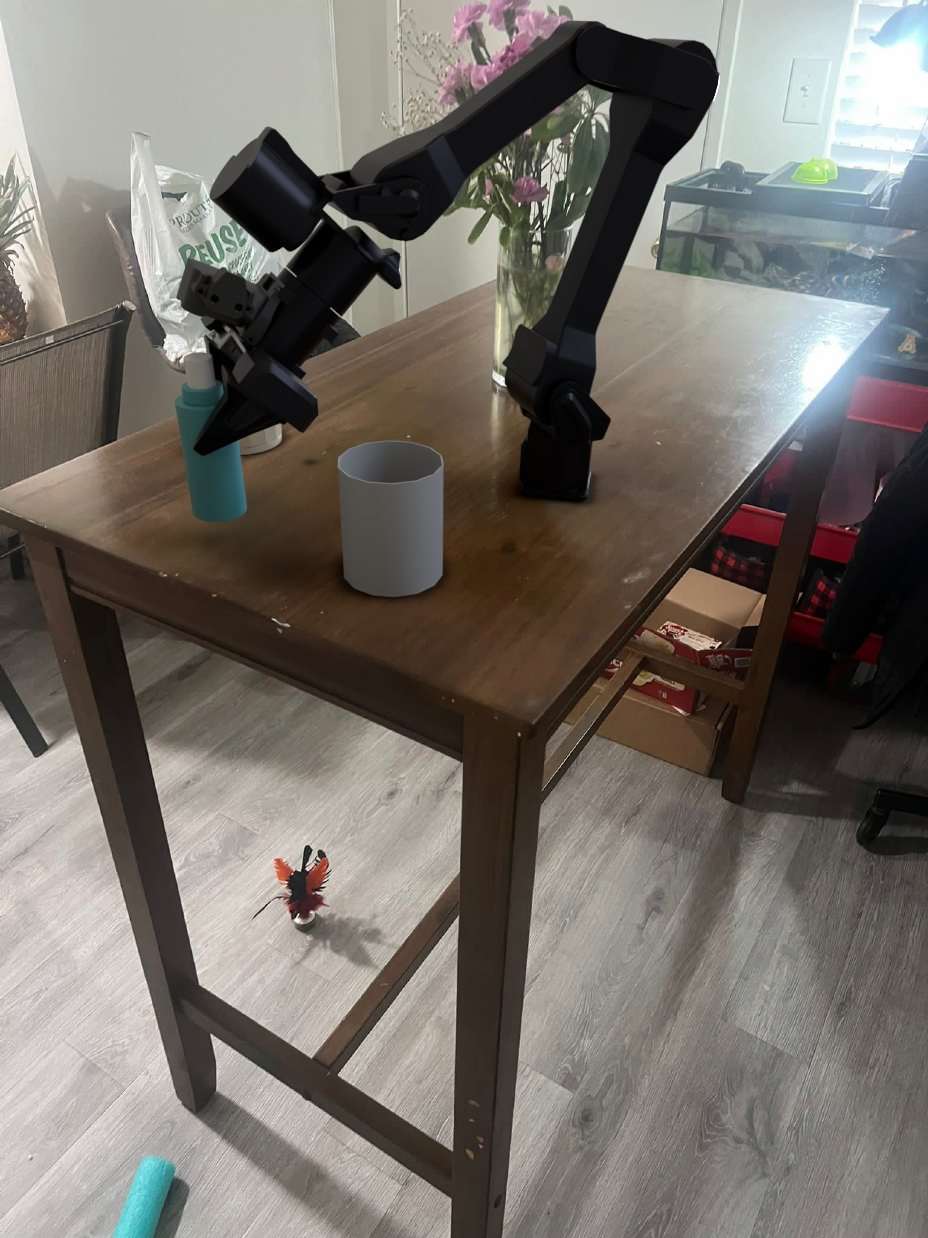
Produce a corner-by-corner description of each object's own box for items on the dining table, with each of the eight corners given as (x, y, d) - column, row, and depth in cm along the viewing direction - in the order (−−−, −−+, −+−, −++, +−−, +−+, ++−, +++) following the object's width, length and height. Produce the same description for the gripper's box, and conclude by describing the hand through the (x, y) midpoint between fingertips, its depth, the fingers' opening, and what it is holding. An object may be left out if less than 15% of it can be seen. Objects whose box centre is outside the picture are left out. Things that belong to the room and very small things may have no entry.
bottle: (254, 501, 81) (236, 349, 73) (234, 524, 77) (213, 367, 69) (206, 496, 81) (182, 345, 74) (183, 519, 77) (157, 363, 70)
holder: (293, 428, 103) (289, 390, 100) (265, 458, 96) (261, 417, 93) (221, 422, 104) (216, 383, 101) (189, 451, 97) (182, 410, 94)
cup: (418, 605, 72) (418, 491, 67) (326, 585, 75) (318, 473, 69) (456, 557, 79) (458, 449, 74) (370, 539, 81) (366, 434, 76)
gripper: (211, 199, 75) (97, 346, 77) (258, 245, 60) (116, 424, 63) (312, 290, 81) (204, 422, 84) (376, 351, 67) (244, 508, 70)
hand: (192, 440), depth 75 cm, fingers closed on bottle, 4 cm apart
